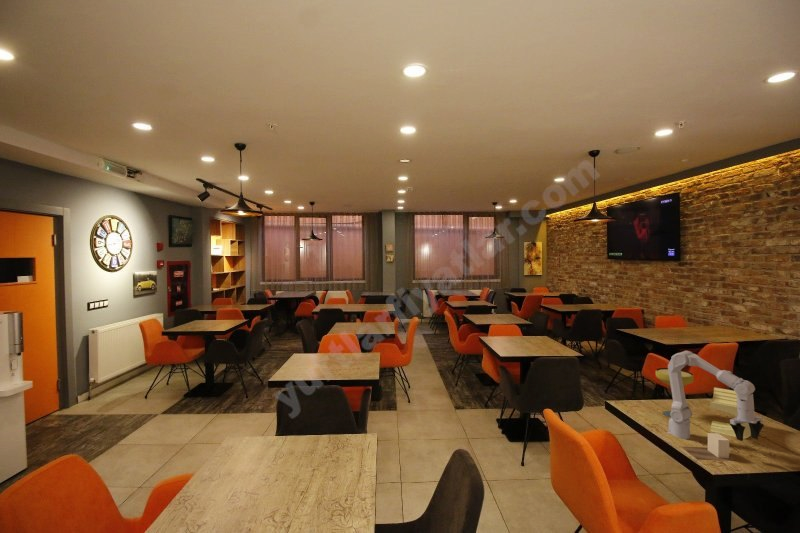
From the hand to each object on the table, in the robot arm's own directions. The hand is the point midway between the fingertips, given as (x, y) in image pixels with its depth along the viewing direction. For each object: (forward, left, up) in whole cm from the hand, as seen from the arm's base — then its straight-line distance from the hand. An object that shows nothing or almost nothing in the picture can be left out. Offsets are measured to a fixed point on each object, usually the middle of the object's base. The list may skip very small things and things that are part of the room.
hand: (747, 439), depth 175 cm
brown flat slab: (-2, -15, -10) cm, 18 cm away
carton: (-2, -11, -8) cm, 14 cm away
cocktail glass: (-51, -2, -10) cm, 52 cm away
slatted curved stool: (-31, +15, -10) cm, 36 cm away
